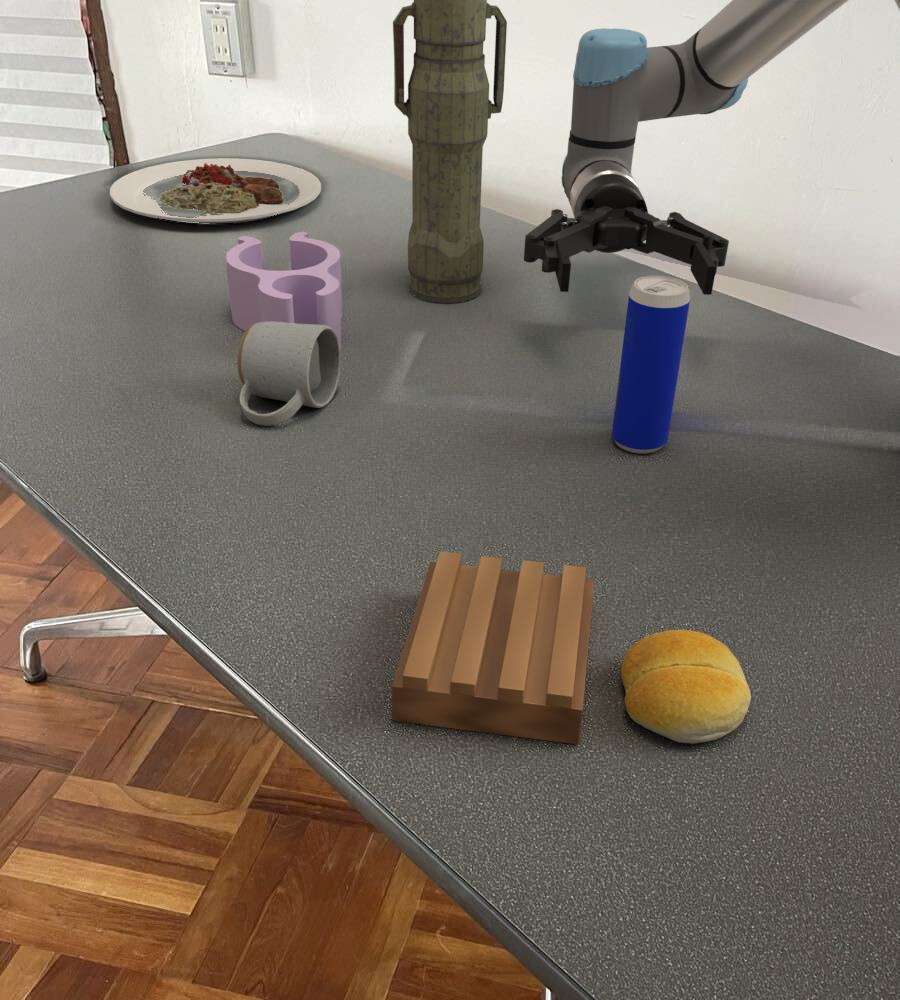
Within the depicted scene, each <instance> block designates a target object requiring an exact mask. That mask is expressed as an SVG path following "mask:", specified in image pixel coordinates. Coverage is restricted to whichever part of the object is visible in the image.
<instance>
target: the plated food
mask: <svg viewBox="0 0 900 1000" xmlns="http://www.w3.org/2000/svg"><path fill="white" fill-rule="evenodd" d="M234 171H248V172H257V173H258V172H259V173H265V174H270V175H275V176H278V177H281V178H285V179H287V180H289V181H291V182H293V183H294V184H295V185H297V187H298V189H299V192H300V193H299V196H298V198H297V199H296V200H295V201H294V202H292V203H290V204H289V205H288V204H287V205H286V204H285V203H282V202H283V201H284V199H283V197H282V194H283V193H281V191H280V189H278V188H279V187H280V186H279V184H278V183H277V182H276V181H275V180H274V179H270V178H263V177H250V176H249V177H244V178H243V177H241V176H239V175H238V174H235V172H234ZM189 173H191V174H190V176H188V175H187V174H189ZM179 175H183V177H182V183H184V184H185V183H186V185H182V187H178V188H174V189H172V190H169V191H165V192H162V193H161V195H160V200H159V201H161V202H162V203H161V205H162V206H168V205H170V206H172V207H173V208H174V209H176V208H177V209H180V208H182V210H187V209H193V208H194V209H196V210H197V209H198V210H201V211H202V213H201V214H199V217H197V216H196V217H197V218H195V217H194V218H186V217H178V216H170V215H167V213H166V214H165V212H164V211H163V210H162V209H161V208H160V207H161V206H159V205H158V203H157V202H156V200H153V199H151V197H150V196H147V195H146V193H144V192H143V190H144V189H145V188H146V187H148V186H150V185H152V184H154V183H156V182H158V181H161V180H163V179H167V178H171V177H174V176H179ZM186 175H187V176H186ZM321 191H322V183H321V181H320V180H319V178H318V177H317V176H315V175H314V174H313V173H311V172H310V171H308V170H305V169H302V168H300V167H297V166H294V165H291V164H287V163H282V162H277V161H270V160H262V159H251V158H237V157H236V158H235V157H234V158H233V157H231V158H228V157H227V158H225V157H222V158H221V157H219V158H198V159H188V160H179V161H172V162H171V161H170V162H165V163H160V164H157V165H152V166H147V167H144V168H141V169H138V170H135V171H132V172H130V173H127V174H125V175H123V176H121V177H119V178H118V179H117V180H116V181H114V182H113V183H112V185H111V187H110V188H109V196H110V199H111V200H112V202H113V203H114V204H115V205H117V206H118V207H120V208H121V209H122V210H125V211H128V212H130V213H133V214H135V215H140V216H144V217H148V218H153V219H158V218H159V219H158V220H162V219H166V220H165V221H167V220H174V221H188V222H199V223H233V224H241V222H242V223H248V222H249V221H250V222H255V221H261V220H265V219H269V218H272V217H275V216H278V215H280V214H284V213H288V212H291V211H294V210H297V209H299V208H301V207H304V206H307V205H309V204H310V203H311V202H313V201H314V200H316V199H317V197H319V195H320V194H321V193H322V192H321ZM143 193H144V194H145V195H146V196H144V194H143ZM152 198H153V197H152ZM284 202H285V201H284ZM161 210H162V211H161ZM162 212H163V213H162ZM206 213H207V214H206ZM208 213H209V214H208ZM277 214H278V215H277ZM200 215H201V216H200ZM274 215H275V216H274ZM271 216H272V217H271Z"/></svg>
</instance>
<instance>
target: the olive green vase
mask: <svg viewBox="0 0 900 1000" xmlns="http://www.w3.org/2000/svg"><path fill="white" fill-rule="evenodd" d="M408 17H412V18H413V39H414V40H415V51H414V53H413V66H412V70H411V73H410V77H409V79H408V84H407V99H406V100H405V23H406V21H407V19H408ZM492 17H494V19H495V42H494V43H495V44H494V45H495V46H494V63H493V64H494V67H493V71H494V72H493V90H492V91H493V92H492V93H493V95H492V98H493V99H492V100H493V102H492V101H491V100H490V82H489V77H488V74H487V71H486V70H487V69H486V67H485V65H486V63H485V62H486V60H485V59H486V56H485V54H484V42H486V34H487V33H486V32H487V19H492ZM507 29H508V21H507V20H506V17H505V16H504V14H503V13H502V11H501V9H500V8H499V7H498V6H497V5H494V4H493V5H491V4H490V3H489V2H488V0H413V2H412V3H411V4H410V5H407V6H403V7H401V9H400V10H399V12H398V13H397V15H396V16H395V18H394V19H393V21H392V37H393V39H392V40H393V66H394V67H393V70H394V71H393V75H394V77H393V78H394V79H393V81H394V82H393V83H394V84H393V86H394V87H393V88H394V90H393V91H394V92H393V93H394V99H393V100H394V101H393V102H394V103H393V104H394V105H395V107H396V108H397V109H398V110H399V112H401V114H403V116H406V117H407V135H408V137H409V139H410V143H411V147H412V150H411V151H412V158H411V159H412V165H411V166H412V170H411V171H412V172H411V173H412V174H411V175H412V177H411V179H412V180H411V181H412V182H411V183H412V187H411V189H412V191H411V192H412V195H411V196H412V197H411V198H412V199H411V201H412V203H411V205H412V206H411V207H412V213H411V214H412V217H411V218H412V222H411V225H410V228H409V231H408V240H407V270H408V272H409V285H408V290H410V291H409V293H410V294H411V293H412V294H413V295H415V296H416V297H418V298H421V299H423V300H422V301H424V300H426V301H425V302H428V301H430V302H429V303H433V302H437V303H436V304H446V303H449V304H459V303H458V302H460V303H464V301H465V302H468V301H467V300H469V301H471V300H473V299H472V298H474V297H476V296H477V295H478V294H479V293H480V294H481V291H482V289H481V287H482V284H481V276H482V274H483V270H484V246H485V245H484V237H483V233H482V229H481V202H482V180H483V179H482V175H483V151H484V150H483V149H484V148H483V147H484V145H485V142H486V140H487V137H488V133H489V132H488V130H489V129H488V128H489V120H490V119H491V118H492V114H500V113H502V110H503V109H502V108H503V101H504V94H505V93H504V91H505V74H506V73H505V72H506V54H507V53H506V52H507V50H506V49H507V31H508V30H507ZM412 294H411V295H412ZM480 294H479V295H480ZM413 295H412V296H413ZM479 295H478V296H479ZM415 296H414V297H415ZM478 296H477V297H478ZM416 297H415V298H416ZM477 297H476V298H477ZM418 298H417V299H418ZM421 299H420V300H421ZM470 299H471V300H470ZM474 299H475V298H474Z"/></svg>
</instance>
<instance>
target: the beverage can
mask: <svg viewBox="0 0 900 1000" xmlns="http://www.w3.org/2000/svg"><path fill="white" fill-rule="evenodd" d="M690 302H691V295H690V288H689V286H688V284H687V283H685V282H684V281H683V280H681V279H678V278H675V277H671V276H665V275H646V276H641V277H639V278H637V279H635V281H634V282H633V284H632V287H631V289H630V290H629V293H628V300H627V308H626V316H625V317H626V318H625V324H624V332H623V341H622V348H621V355H620V357H621V358H620V363H619V364H620V366H619V371H618V372H619V373H618V382H617V387H616V395H615V397H616V398H615V405H614V412H613V413H614V414H613V421H612V429H611V437H612V439H613V441H614V442H615V444H616V445H617V446H618V447H619V448H620V449H622V450H624V451H626V452H629V453H632V454H640V455H641V454H643V455H645V454H652V453H656V452H657V451H659V450H661V449H662V448H663V447H664V446H665V445H666V444H667V442H668V440H669V434H670V427H671V422H672V416H673V408H674V404H675V403H674V402H675V396H676V390H677V383H678V378H679V371H680V364H681V360H682V359H681V358H682V354H683V353H682V352H683V345H684V342H685V341H684V340H685V333H686V327H687V323H688V322H687V321H688V315H689V310H690V304H691V303H690Z"/></svg>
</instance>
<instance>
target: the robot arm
mask: <svg viewBox="0 0 900 1000" xmlns="http://www.w3.org/2000/svg"><path fill="white" fill-rule="evenodd" d="M848 1H849V0H731V1H730V2H728V3H727V4H726V5H725V6H724V7H723V8H722V9H721V10H720V11H719V12H717V13H716V14H715V15H714V16H713V17H712V18H711V19H710V20H709V21H707V22H706V23H705V24H704V25H703V26H702V27H701V28H700V29H699V30H697V31H696V32H695V33H694V34H693V35H691V36H690V37H689V38H687V40H685V41H684V42H681V43H679V44H678V43H677V44H670V45H659V46H649V47H648V40H647V37H646V35H645V34H643V33H642V32H639V31H636V30H631V29H625V28H603V27H602V28H594V29H590V30H588V31H586V32H585V33H583V34H582V36H581V37H580V39H579V41H578V47H577V52H576V57H575V63H574V70H573V74H572V79H573V80H572V81H573V87H572V102H571V103H572V104H571V105H572V106H571V120H570V121H571V122H570V130H569V137H568V142H567V152H566V154H565V157H564V159H563V161H562V168H561V186H562V188H563V191H564V195H565V196H566V198H567V199H568V203H569V205H570V208H571V212H572V214H573V217H568V214H567V213H564V211H563V210H562V209H559V208H555V209H552V210H551V212H550V216H548V218H546V219H545V220H544V221H542V222H541V223H540V224H539V225H537V226H536V227H535V228H533V229H532V230H531V231H529V232H528V233H527V234H525V236H524V238H525V239H524V250H523V251H524V252H523V261H524V262H525V263H531V264H532V263H535V262H537V260H541V272H542V273H548V274H549V273H555V275H556V280H557V284H558V288H559V292H560V293H569V290H570V289H569V288H570V279H571V268H572V261H571V260H570V259H571V257H574V256H575V255H578V254H580V253H581V252H586V253H589V254H590V253H592V252H594V251H597V252H599V253H605V254H613V253H618V252H621V251H625V250H634V251H637V252H640V253H642V254H647V255H648V254H651V253H657V254H660V255H662V256H665V257H668V258H670V259H674V260H676V261H679V262H682V263H684V264H688V265H690V272H691V273H692V276H693V277H694V280H695V281H696V284H697V285H698V287H699V289H700V291H701V293H702V295H705V296H706V295H707V296H708V295H709V296H712V293H713V289H714V288H713V287H714V283H715V278H716V275H717V272H718V271H717V270H718V268H720V267H725V265H726V260H727V254H728V249H729V243H730V240H729V239H727V238H725V237H723V236H720V235H719V234H717V233H715V232H713V231H710V230H708V229H707V228H704V227H702V226H700V225H698V224H696V223H694V222H692V221H690V220H688V219H686V218H685V217H684V216H683V215H682V214H681V213H680V212H676V211H672V212H669V213H668V216H667V217H666V218H667V219H664V220H663V219H660V218H659V217H656V216H654V215H652V214H650V213H649V210H648V206H647V202H646V201H645V198H644V196H643V194H642V193H641V190H640V188H639V186H638V184H637V182H636V180H635V178H634V176H633V175H632V167H633V166H632V165H633V160H634V159H633V158H634V149H635V143H636V139H637V132H638V126H639V125H638V124H639V123H640V122H649V121H655V120H661V119H670V118H677V117H686V116H694V115H710V114H714V113H716V112H717V111H721V110H727V109H729V108H731V107H733V106H734V105H735V104H737V103H738V102H739V101H740V99H741V98H742V96H743V93H744V90H745V89H746V88H747V86H748V82H749V79H750V77H751V76H753V75H754V74H755V73H757V72H758V71H759V70H760V69H761V68H763V67H765V66H766V65H767V64H768V63H770V62H771V61H772V60H773V59H774V58H776V57H777V56H778V55H780V54H781V53H783V51H785V50H786V49H787V48H789V47H790V46H791V45H793V44H794V43H796V42H797V41H798V40H799V39H800V38H801V37H803V36H805V35H806V34H807V33H808V32H810V31H811V30H812V29H814V28H815V27H816V26H817V25H818V24H820V23H821V22H823V21H824V20H825V19H827V18H828V17H829V16H831V15H832V14H833V13H834V12H835V11H837V10H838V9H839V8H841V7H842V6H843V5H845V4H846V3H847V2H848ZM894 2H895V5H896V6H897V9H898V10H899V11H900V0H894Z"/></svg>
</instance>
